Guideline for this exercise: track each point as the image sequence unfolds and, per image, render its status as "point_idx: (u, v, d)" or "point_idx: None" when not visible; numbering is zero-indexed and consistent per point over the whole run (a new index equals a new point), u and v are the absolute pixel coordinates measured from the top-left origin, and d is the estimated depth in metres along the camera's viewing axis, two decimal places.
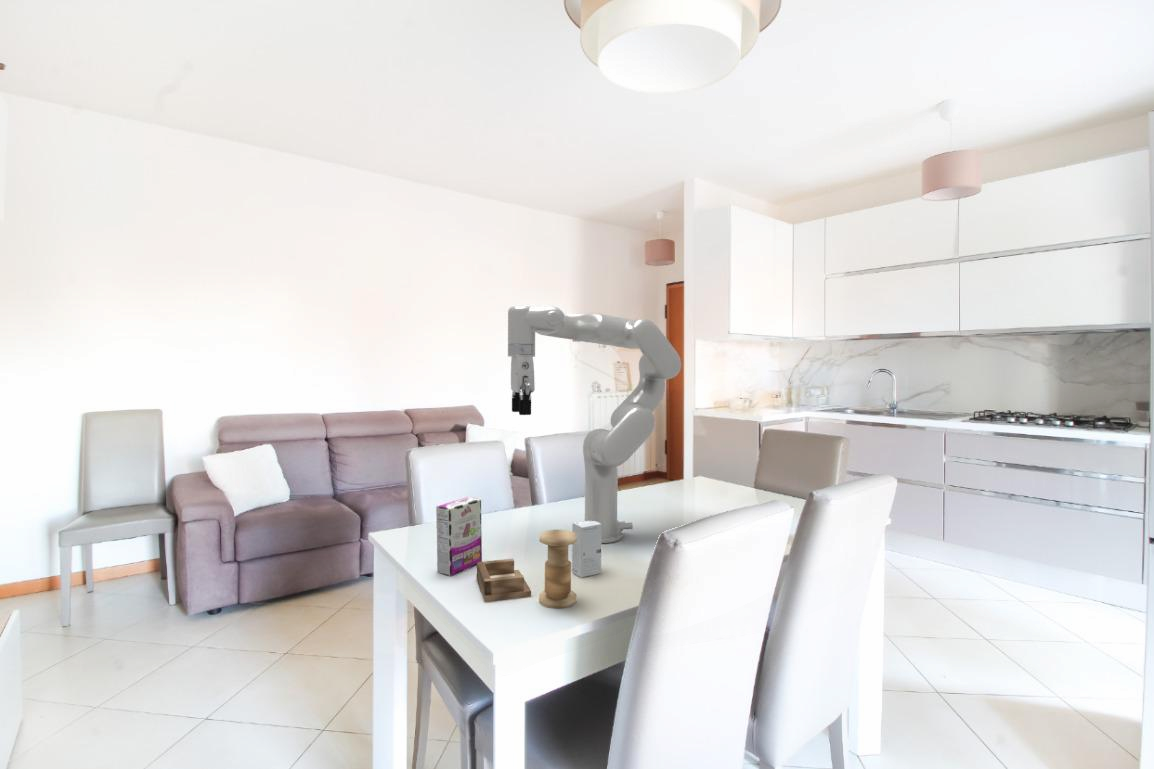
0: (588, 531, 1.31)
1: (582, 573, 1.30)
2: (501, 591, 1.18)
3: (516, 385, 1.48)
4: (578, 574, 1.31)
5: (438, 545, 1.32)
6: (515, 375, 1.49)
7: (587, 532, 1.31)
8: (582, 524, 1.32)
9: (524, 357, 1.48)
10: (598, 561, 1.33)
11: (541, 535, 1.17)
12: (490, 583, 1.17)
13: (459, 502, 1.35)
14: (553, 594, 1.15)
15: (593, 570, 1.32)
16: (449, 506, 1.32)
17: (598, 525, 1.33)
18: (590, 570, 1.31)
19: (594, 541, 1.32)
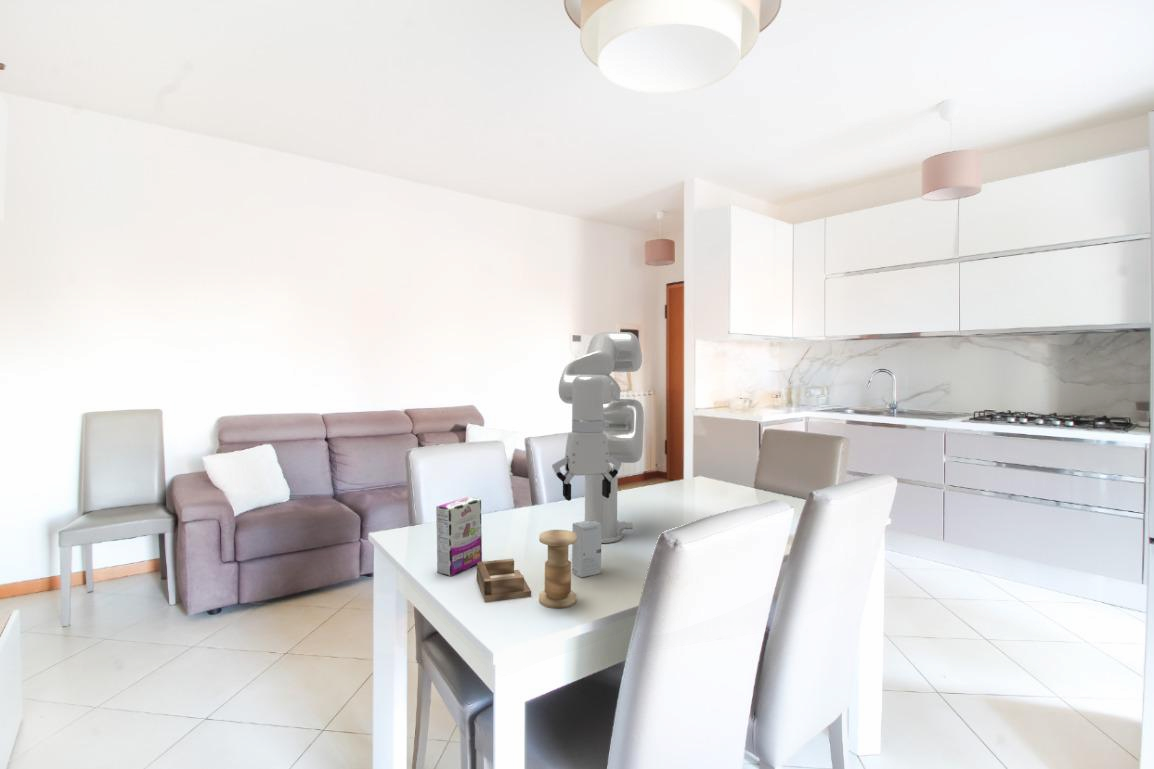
0: (588, 531, 1.31)
1: (582, 573, 1.30)
2: (501, 591, 1.18)
3: (604, 466, 1.32)
4: (578, 574, 1.31)
5: (438, 545, 1.32)
6: (602, 455, 1.31)
7: (587, 532, 1.31)
8: (582, 524, 1.32)
9: None
10: (598, 561, 1.33)
11: (541, 535, 1.17)
12: (490, 583, 1.17)
13: (459, 502, 1.35)
14: (553, 594, 1.15)
15: (593, 570, 1.32)
16: (449, 506, 1.32)
17: (598, 525, 1.33)
18: (590, 570, 1.31)
19: (594, 541, 1.32)
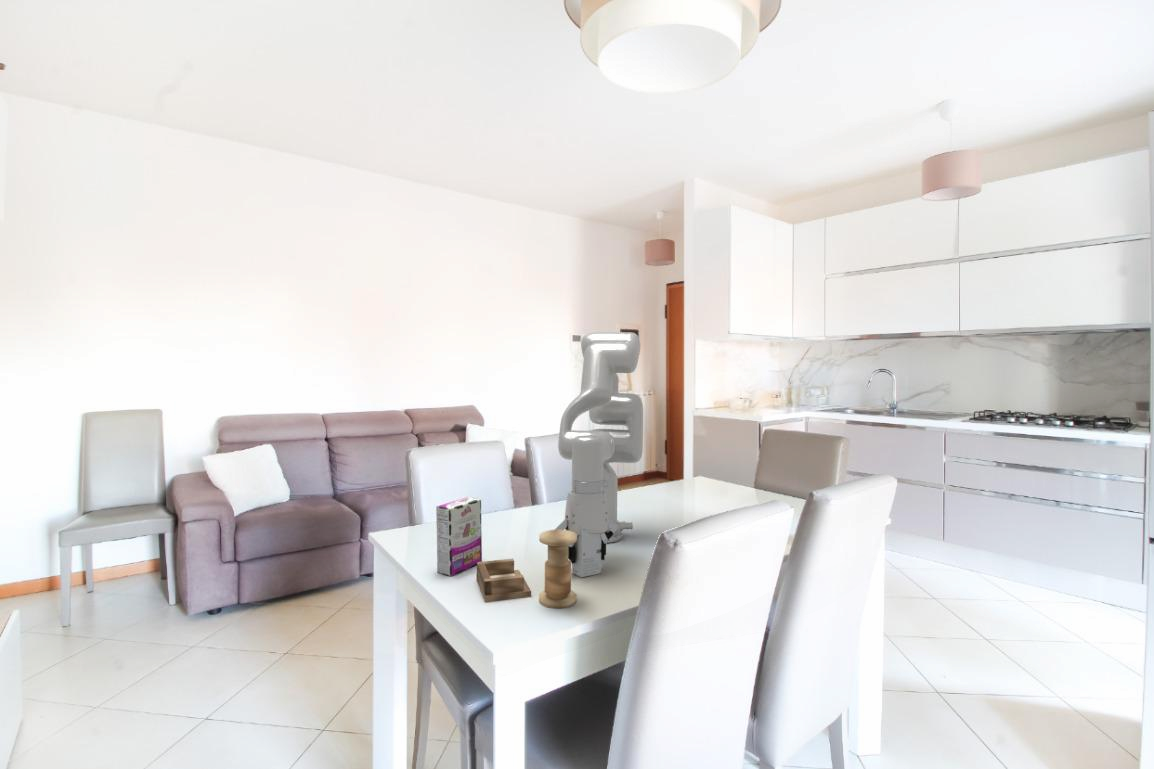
0: None
1: (582, 573, 1.30)
2: (501, 591, 1.18)
3: (604, 526, 1.32)
4: (578, 574, 1.31)
5: (438, 545, 1.32)
6: (602, 515, 1.32)
7: (587, 532, 1.31)
8: None
9: None
10: (598, 561, 1.33)
11: (541, 535, 1.17)
12: (490, 583, 1.17)
13: (459, 502, 1.35)
14: (553, 594, 1.15)
15: (593, 570, 1.32)
16: (449, 506, 1.32)
17: None
18: (590, 570, 1.31)
19: (594, 541, 1.32)
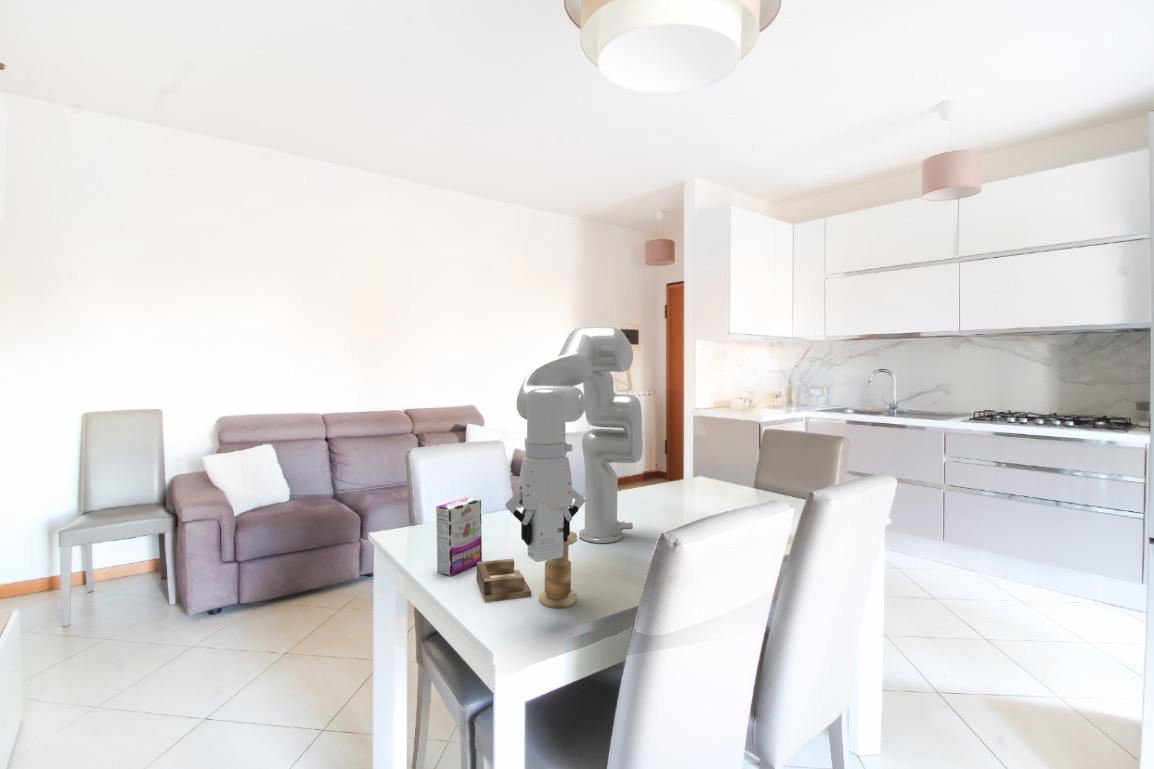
0: None
1: (540, 557, 1.05)
2: (501, 591, 1.18)
3: (566, 499, 1.07)
4: (534, 558, 1.06)
5: (438, 545, 1.32)
6: (564, 486, 1.07)
7: (545, 507, 1.06)
8: None
9: None
10: (560, 542, 1.08)
11: None
12: (490, 583, 1.17)
13: (459, 502, 1.35)
14: (553, 594, 1.15)
15: (554, 554, 1.07)
16: (449, 506, 1.32)
17: None
18: (549, 554, 1.06)
19: (555, 517, 1.07)
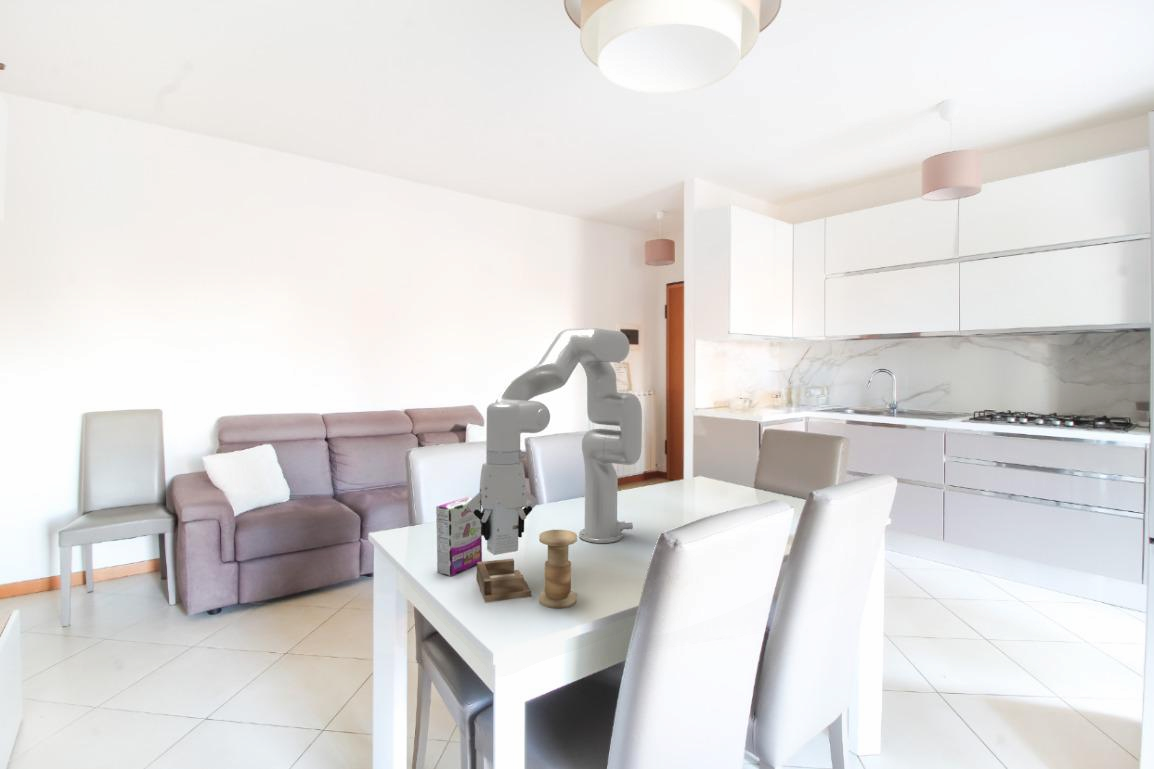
0: None
1: (496, 550, 1.21)
2: (501, 591, 1.18)
3: (520, 500, 1.23)
4: (492, 552, 1.21)
5: (438, 545, 1.32)
6: (518, 488, 1.22)
7: (501, 507, 1.21)
8: None
9: (522, 464, 1.25)
10: (515, 538, 1.23)
11: (541, 535, 1.17)
12: (490, 583, 1.17)
13: (459, 502, 1.35)
14: (553, 594, 1.15)
15: (509, 548, 1.22)
16: (449, 506, 1.32)
17: None
18: (505, 548, 1.22)
19: (510, 516, 1.22)
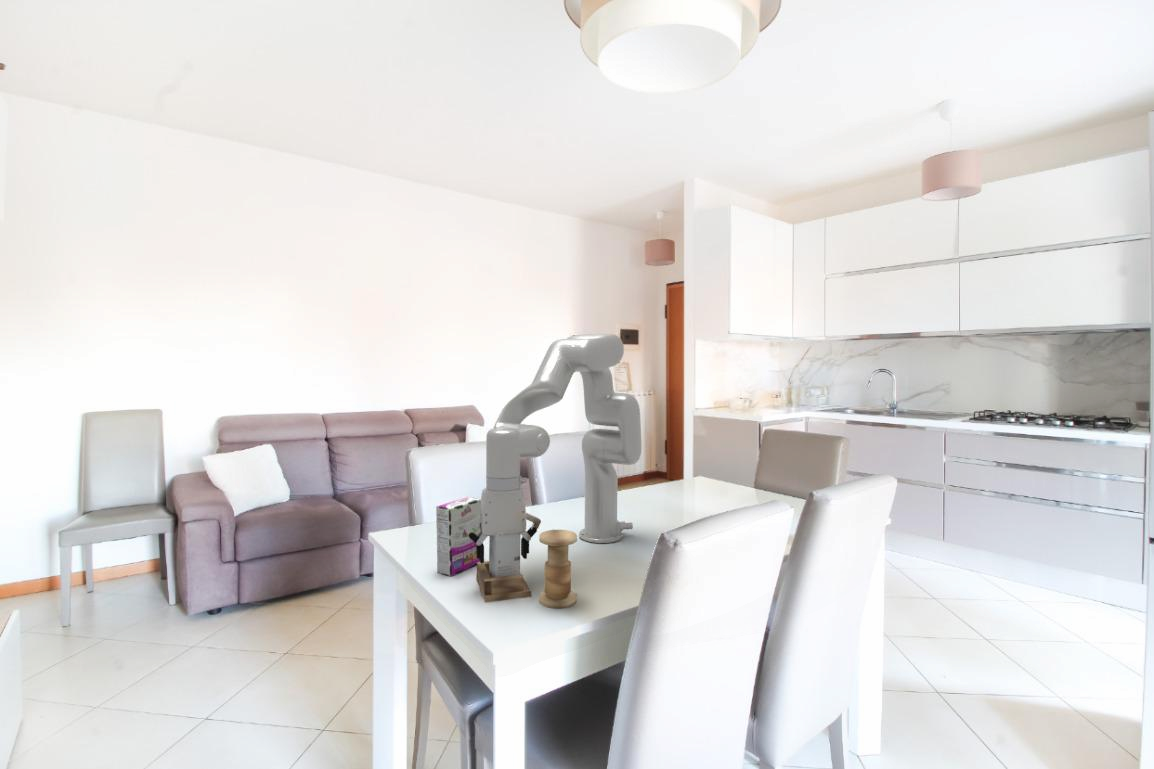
0: (505, 536, 1.22)
1: None
2: (501, 591, 1.18)
3: (520, 525, 1.23)
4: None
5: (438, 545, 1.32)
6: (518, 514, 1.22)
7: (503, 538, 1.22)
8: None
9: (522, 489, 1.25)
10: (516, 569, 1.24)
11: (541, 535, 1.17)
12: (490, 583, 1.17)
13: (459, 502, 1.35)
14: (553, 594, 1.15)
15: None
16: (449, 506, 1.32)
17: None
18: None
19: (512, 547, 1.23)
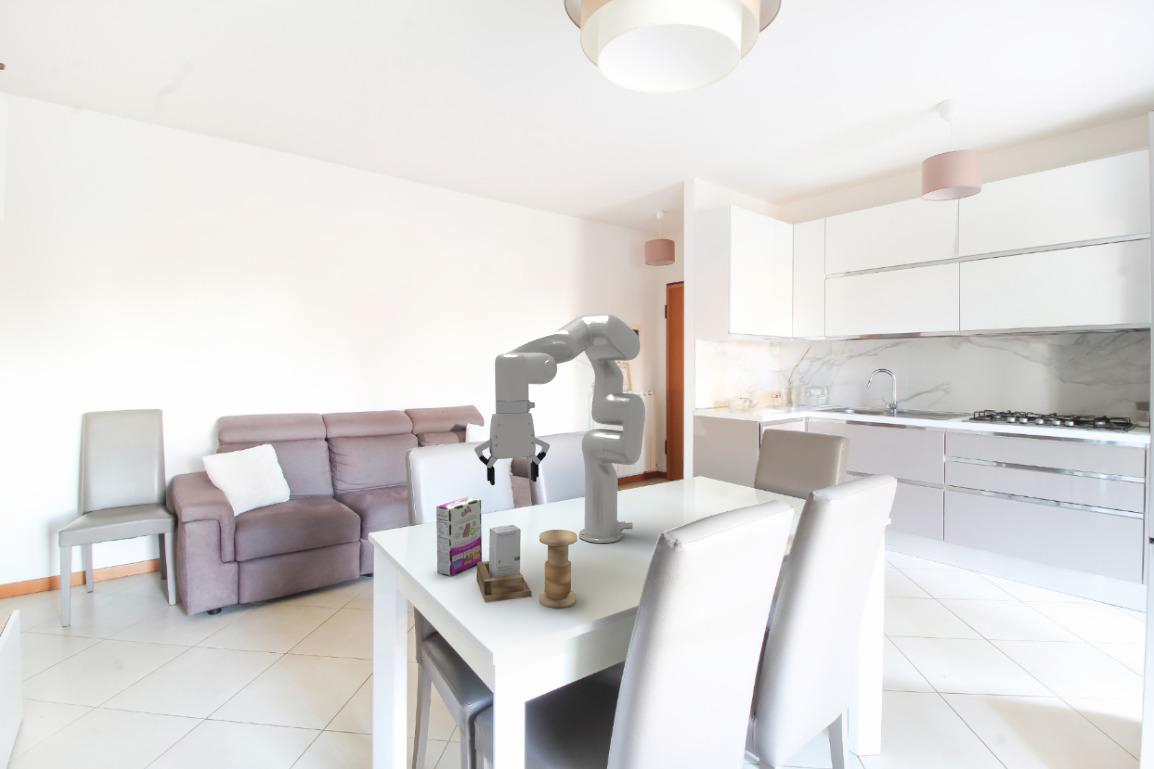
0: (505, 536, 1.22)
1: None
2: (501, 591, 1.18)
3: (530, 448, 1.25)
4: None
5: (438, 545, 1.32)
6: (527, 437, 1.25)
7: (503, 538, 1.22)
8: (499, 529, 1.23)
9: None
10: (516, 569, 1.24)
11: (541, 535, 1.17)
12: (490, 583, 1.17)
13: (459, 502, 1.35)
14: (553, 594, 1.15)
15: None
16: (449, 506, 1.32)
17: (516, 530, 1.24)
18: None
19: (512, 547, 1.23)
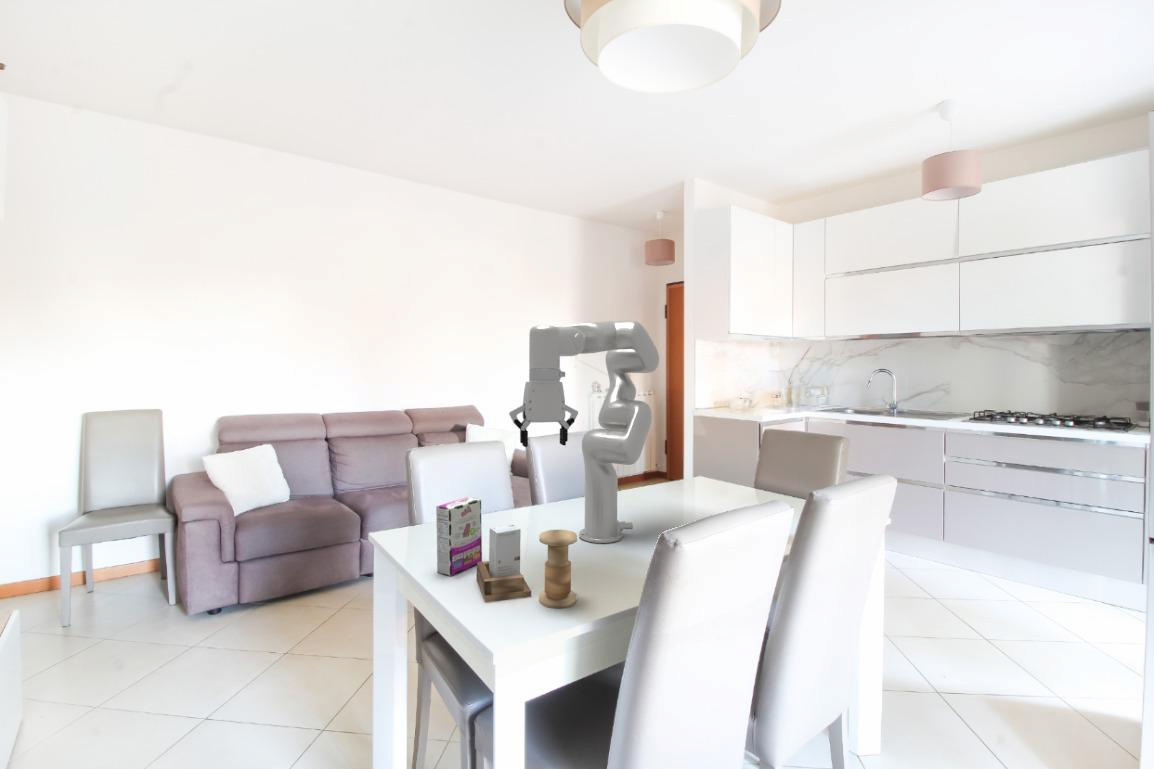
0: (505, 536, 1.22)
1: None
2: (501, 591, 1.18)
3: (560, 414, 1.35)
4: None
5: (438, 545, 1.32)
6: (558, 403, 1.35)
7: (503, 538, 1.22)
8: (499, 529, 1.23)
9: None
10: (516, 569, 1.24)
11: (541, 535, 1.17)
12: (490, 583, 1.17)
13: (459, 502, 1.35)
14: (553, 594, 1.15)
15: None
16: (449, 506, 1.32)
17: (516, 530, 1.24)
18: None
19: (512, 547, 1.23)
